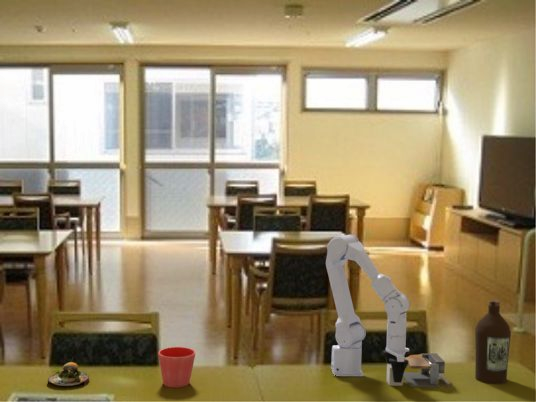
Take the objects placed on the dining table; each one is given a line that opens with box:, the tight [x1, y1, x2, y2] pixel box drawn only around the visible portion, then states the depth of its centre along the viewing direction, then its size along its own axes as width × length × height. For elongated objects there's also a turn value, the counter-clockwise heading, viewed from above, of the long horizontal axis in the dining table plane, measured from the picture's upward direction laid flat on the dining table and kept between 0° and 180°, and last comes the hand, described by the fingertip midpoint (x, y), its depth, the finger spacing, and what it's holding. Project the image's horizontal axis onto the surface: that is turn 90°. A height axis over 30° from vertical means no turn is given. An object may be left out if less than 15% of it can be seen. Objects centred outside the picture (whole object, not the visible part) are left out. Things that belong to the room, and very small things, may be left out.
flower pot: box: [158, 346, 196, 388], centre depth 209 cm, size 11×11×10 cm
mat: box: [403, 371, 440, 388], centre depth 217 cm, size 9×13×1 cm
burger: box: [47, 356, 90, 387], centre depth 208 cm, size 12×12×8 cm
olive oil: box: [474, 299, 512, 385], centre depth 219 cm, size 11×11×25 cm
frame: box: [420, 353, 451, 388], centre depth 217 cm, size 6×12×7 cm, turn 2°
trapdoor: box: [404, 352, 446, 374], centre depth 217 cm, size 10×9×4 cm
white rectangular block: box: [386, 363, 404, 387], centre depth 214 cm, size 4×4×6 cm
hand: (394, 378), depth 214 cm, fingers open, 7 cm apart
